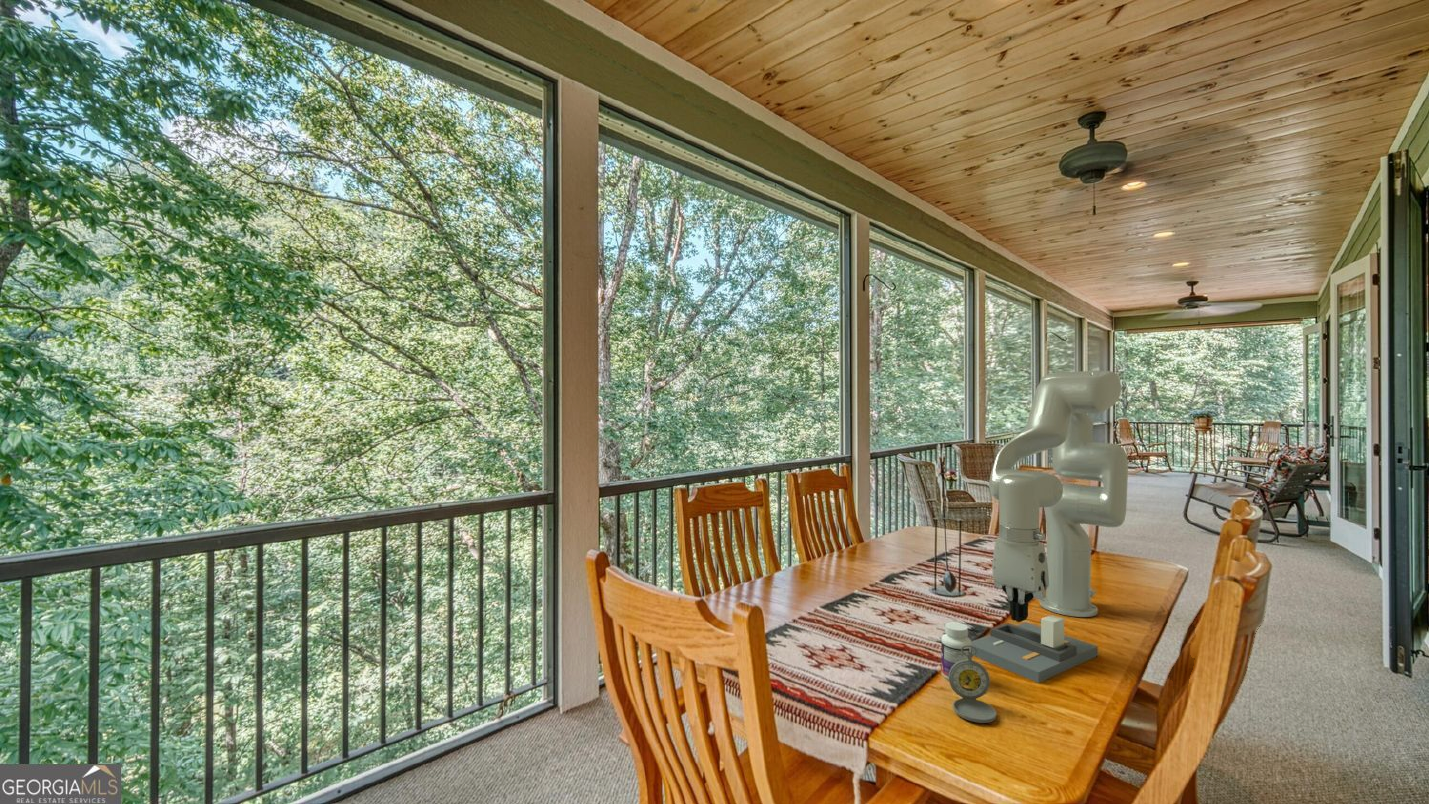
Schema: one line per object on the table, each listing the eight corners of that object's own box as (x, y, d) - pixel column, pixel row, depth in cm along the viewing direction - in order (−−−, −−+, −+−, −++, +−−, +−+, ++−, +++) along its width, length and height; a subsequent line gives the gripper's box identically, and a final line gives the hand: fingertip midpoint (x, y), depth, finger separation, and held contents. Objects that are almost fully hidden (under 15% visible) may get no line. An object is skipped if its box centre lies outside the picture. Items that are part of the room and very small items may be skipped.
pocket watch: (976, 729, 92) (976, 667, 92) (936, 703, 100) (936, 646, 100) (1012, 718, 95) (1012, 658, 95) (971, 694, 103) (971, 638, 103)
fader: (1050, 646, 118) (1050, 614, 118) (1065, 651, 115) (1065, 619, 115) (1039, 650, 116) (1039, 618, 116) (1054, 656, 113) (1054, 623, 113)
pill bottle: (948, 667, 113) (948, 618, 113) (976, 676, 109) (976, 626, 109) (936, 676, 109) (936, 625, 109) (964, 686, 105) (965, 634, 105)
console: (1026, 630, 131) (1026, 615, 131) (1097, 655, 118) (1097, 639, 118) (966, 652, 120) (966, 635, 120) (1038, 683, 107) (1038, 664, 107)
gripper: (1065, 539, 117) (1065, 628, 118) (996, 524, 130) (996, 605, 130) (1044, 544, 113) (1044, 636, 114) (975, 529, 126) (976, 612, 126)
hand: (1019, 619), depth 122 cm, fingers closed
